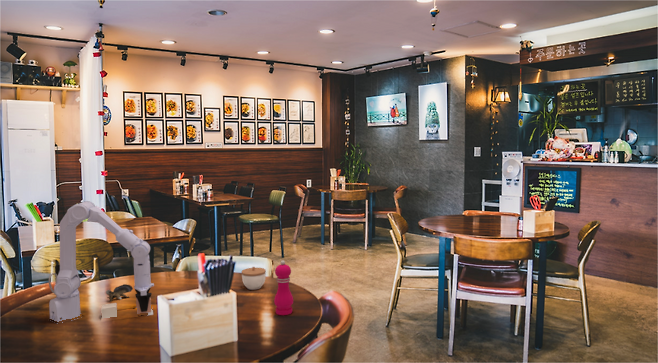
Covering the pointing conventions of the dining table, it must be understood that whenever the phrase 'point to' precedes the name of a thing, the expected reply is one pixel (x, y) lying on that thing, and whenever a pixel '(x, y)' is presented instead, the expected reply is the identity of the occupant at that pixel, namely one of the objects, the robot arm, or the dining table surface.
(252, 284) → the lidded jar
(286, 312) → the pepper mill
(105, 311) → the cream base brick
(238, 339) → the dining table surface
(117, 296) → the squirrel figurine
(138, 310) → the pink cube
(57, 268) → the glass holder
